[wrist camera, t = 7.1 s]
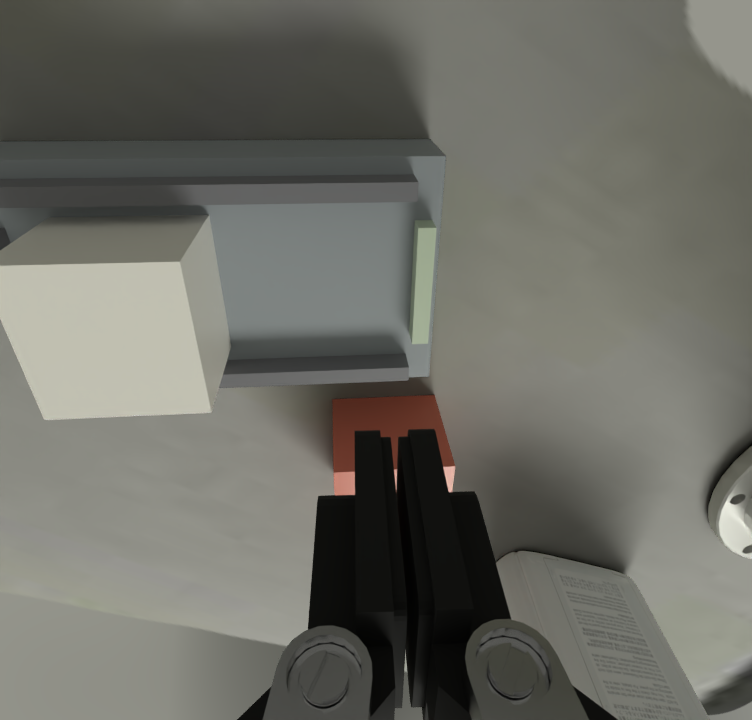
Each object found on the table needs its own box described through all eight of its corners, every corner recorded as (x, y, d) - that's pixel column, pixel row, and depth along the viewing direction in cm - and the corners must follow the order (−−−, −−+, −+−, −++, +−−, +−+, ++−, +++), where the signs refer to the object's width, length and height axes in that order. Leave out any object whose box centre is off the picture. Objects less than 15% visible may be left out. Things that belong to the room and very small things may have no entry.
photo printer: (476, 581, 34) (542, 823, 24) (510, 540, 32) (598, 786, 22) (600, 605, 37) (708, 831, 26) (638, 569, 35) (771, 799, 24)
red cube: (434, 394, 25) (455, 466, 21) (427, 467, 28) (445, 544, 24) (332, 398, 25) (333, 472, 21) (336, 472, 28) (337, 551, 24)
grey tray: (430, 138, 19) (452, 162, 16) (417, 339, 23) (433, 390, 20) (-1, 141, 18) (-77, 168, 14) (75, 351, 22) (31, 407, 19)
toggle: (209, 214, 17) (180, 261, 13) (231, 346, 19) (211, 412, 16) (48, 217, 16) (-23, 266, 13) (94, 351, 19) (44, 419, 16)
